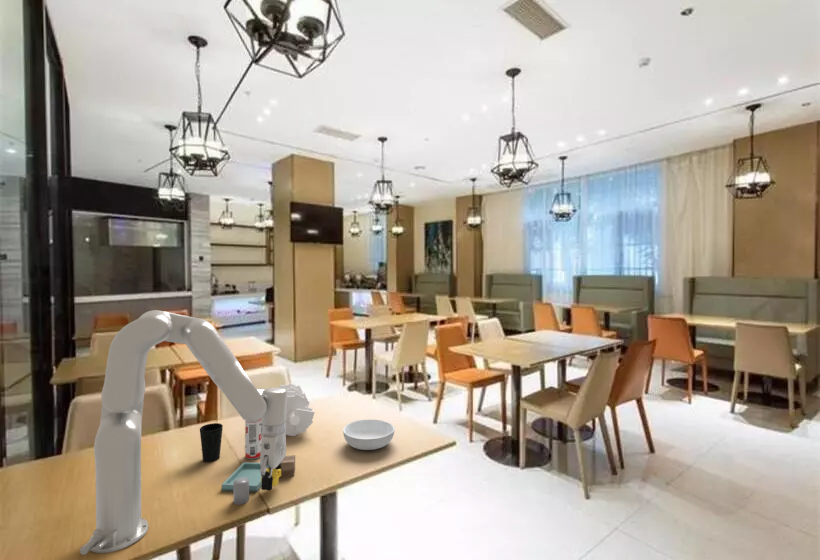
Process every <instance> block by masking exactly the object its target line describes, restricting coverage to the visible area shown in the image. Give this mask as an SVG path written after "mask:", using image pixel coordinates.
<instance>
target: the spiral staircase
mask: <svg viewBox="0 0 820 560" xmlns="http://www.w3.org/2000/svg"><path fill="white" fill-rule="evenodd" d="M279 387H280V388H284V389H285V390H286V391H287V412H286V432H285V434H286V436H290V437H297V435H300V434H303V433H305V432H307V429H308V428H309V427H310V426H312V424H313V423H314V421H313V420H314V415H315V413H316V411H314V410H313V407H309V405H310V401H309V400H308V398H307V395H306V393H305V392H304V391H303V390H302V388H301V386H300V385H296V384H294V383H292V382H289V384H280V385H279Z"/></svg>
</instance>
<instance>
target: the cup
mask: <svg viewBox="0 0 820 560" xmlns="http://www.w3.org/2000/svg"><path fill="white" fill-rule="evenodd" d="M223 426H224V425H223V424H222V423H217V422H214V423H208V424H204V425H203V426H201V427H200V428H199V434H200V437H199V438H200V443H201V454H202V462H203V463H213V462H216V461H218V460H219V459H220V457H221V445H222V436H223Z"/></svg>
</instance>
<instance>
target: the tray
mask: <svg viewBox="0 0 820 560" xmlns="http://www.w3.org/2000/svg"><path fill="white" fill-rule="evenodd" d="M267 466H269V467H270V465H269V464H267ZM260 469H261V466H260V462H248V461H247V462H246V461H245V462H244V461H243V462H242V463H241V464H240V465H239V466H238V467H237V468H236V469H235V470H234V471H233V472H232V474H231V475H229V476H228V478H227V479H225V481H224V482H223V483H222V484H221V492H222V491H223V492H233V482H234V481H235V480H236V479H239V478H243V477H245V478H248V479H249V493H258V491H259V490H260V489H261V486H262V483H261V473H260Z"/></svg>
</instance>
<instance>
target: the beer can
mask: <svg viewBox="0 0 820 560" xmlns="http://www.w3.org/2000/svg"><path fill="white" fill-rule="evenodd" d="M261 419H262V418H261ZM261 419H260V420H259V421H256V422H248V421H245V420H244V421H245V423H244V424H245V425H244V431H245V435H244V439H245V441H244V444H245V445H244V447H245V449H244V452H245V453H244V457H245V458H246V459H248V460H256V459H260V454H261V443H262V436H263V435H262V434H261Z"/></svg>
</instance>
